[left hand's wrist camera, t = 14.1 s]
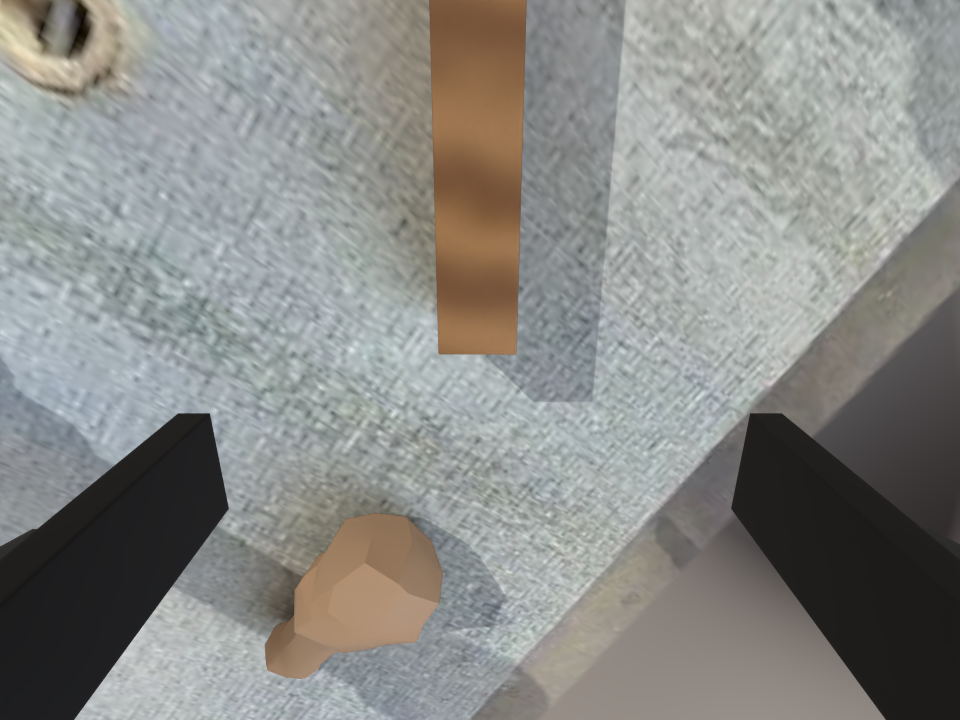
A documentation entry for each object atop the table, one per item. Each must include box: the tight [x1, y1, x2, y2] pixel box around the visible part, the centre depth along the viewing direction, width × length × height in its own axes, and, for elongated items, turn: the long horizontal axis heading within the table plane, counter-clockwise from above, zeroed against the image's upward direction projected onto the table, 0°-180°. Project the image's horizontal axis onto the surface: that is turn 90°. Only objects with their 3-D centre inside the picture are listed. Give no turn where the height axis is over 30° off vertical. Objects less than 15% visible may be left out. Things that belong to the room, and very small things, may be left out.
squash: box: [265, 513, 443, 679], centre depth 44 cm, size 11×20×9 cm, turn 142°
